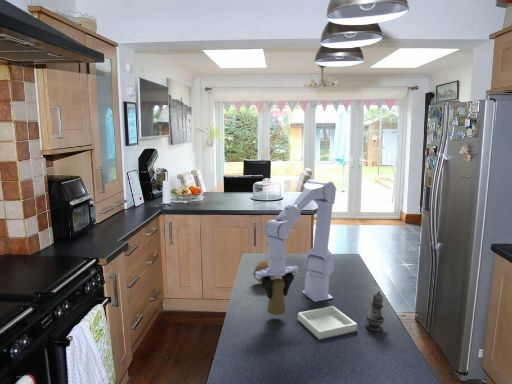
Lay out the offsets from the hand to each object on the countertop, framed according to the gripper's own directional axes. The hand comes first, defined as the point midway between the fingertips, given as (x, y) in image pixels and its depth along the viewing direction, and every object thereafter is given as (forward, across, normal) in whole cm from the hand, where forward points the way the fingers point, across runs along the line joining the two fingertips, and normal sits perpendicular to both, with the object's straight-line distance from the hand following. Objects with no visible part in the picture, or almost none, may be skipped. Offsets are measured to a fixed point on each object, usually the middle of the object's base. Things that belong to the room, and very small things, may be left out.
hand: (276, 296), depth 132 cm
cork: (+5, 0, 0) cm, 5 cm away
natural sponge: (+8, +8, +28) cm, 30 cm away
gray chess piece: (+8, +26, -17) cm, 32 cm away
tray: (+8, +13, -10) cm, 18 cm away
